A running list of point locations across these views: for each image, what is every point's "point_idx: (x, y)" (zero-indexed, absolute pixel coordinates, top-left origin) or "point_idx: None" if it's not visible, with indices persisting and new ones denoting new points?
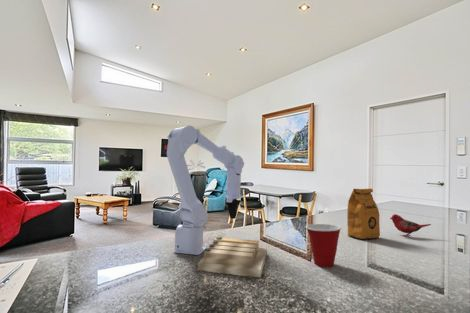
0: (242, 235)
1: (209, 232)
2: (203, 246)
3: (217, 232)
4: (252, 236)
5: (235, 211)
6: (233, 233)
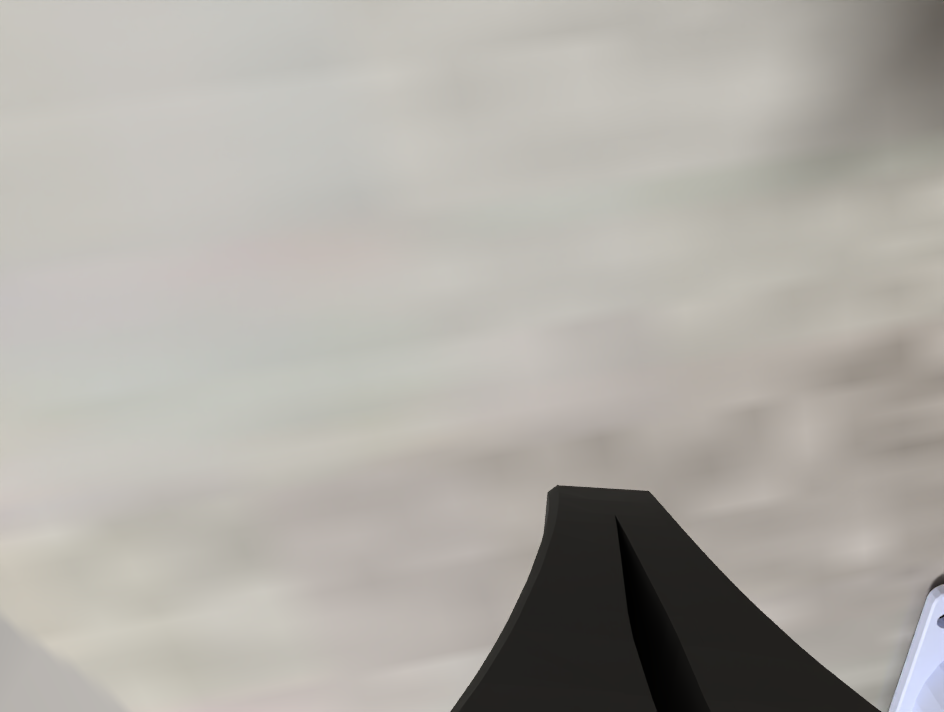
0: (110, 211)
1: (159, 697)
2: (928, 629)
3: (109, 607)
4: (96, 5)
5: (766, 642)
6: (53, 380)
